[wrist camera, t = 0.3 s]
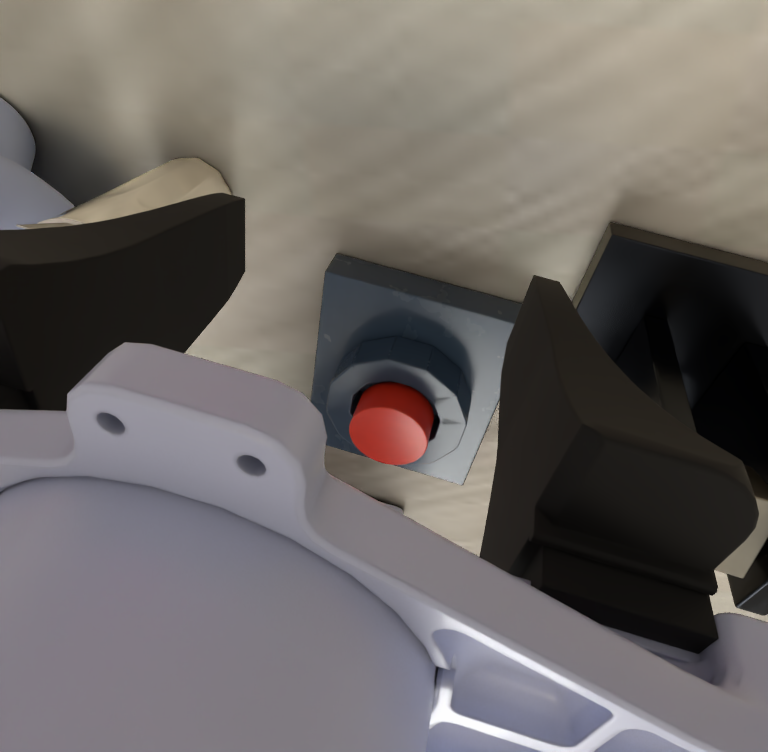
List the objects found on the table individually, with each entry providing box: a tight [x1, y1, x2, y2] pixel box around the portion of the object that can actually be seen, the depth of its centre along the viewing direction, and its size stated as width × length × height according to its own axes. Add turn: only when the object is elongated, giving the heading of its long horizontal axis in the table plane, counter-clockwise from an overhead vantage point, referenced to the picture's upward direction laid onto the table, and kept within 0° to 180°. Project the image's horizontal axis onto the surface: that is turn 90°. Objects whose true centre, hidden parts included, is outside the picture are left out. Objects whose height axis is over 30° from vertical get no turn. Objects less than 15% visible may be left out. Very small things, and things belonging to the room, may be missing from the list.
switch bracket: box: [572, 222, 768, 615], centre depth 21 cm, size 10×10×10 cm
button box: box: [311, 254, 522, 485], centre depth 27 cm, size 11×9×4 cm
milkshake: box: [16, 158, 231, 229], centre depth 21 cm, size 4×5×10 cm
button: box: [349, 382, 434, 465], centre depth 26 cm, size 4×4×2 cm
